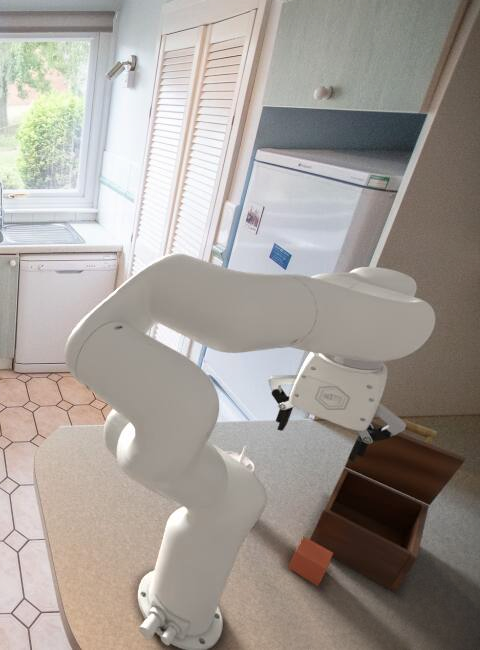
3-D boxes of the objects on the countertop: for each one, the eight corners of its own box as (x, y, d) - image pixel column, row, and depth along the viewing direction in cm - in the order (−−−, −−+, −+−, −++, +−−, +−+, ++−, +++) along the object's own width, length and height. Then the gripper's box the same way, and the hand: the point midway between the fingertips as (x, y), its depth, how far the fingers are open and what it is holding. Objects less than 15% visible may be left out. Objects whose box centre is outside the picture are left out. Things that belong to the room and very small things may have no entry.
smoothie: (247, 512, 91) (266, 459, 85) (213, 507, 93) (230, 454, 87) (236, 488, 97) (254, 436, 91) (204, 483, 98) (220, 432, 92)
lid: (465, 461, 71) (473, 436, 73) (364, 422, 80) (375, 401, 82) (429, 505, 82) (438, 482, 84) (344, 467, 90) (354, 446, 92)
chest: (395, 592, 76) (417, 558, 73) (307, 543, 85) (323, 509, 81) (409, 538, 86) (429, 505, 82) (329, 499, 94) (344, 467, 91)
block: (317, 586, 78) (326, 569, 76) (287, 568, 81) (295, 550, 79) (324, 569, 80) (333, 552, 78) (295, 552, 83) (303, 535, 81)
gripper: (277, 339, 70) (249, 426, 77) (429, 385, 58) (379, 482, 66) (291, 323, 75) (264, 407, 82) (435, 363, 63) (388, 456, 70)
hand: (315, 440), depth 74 cm, fingers open, 9 cm apart
